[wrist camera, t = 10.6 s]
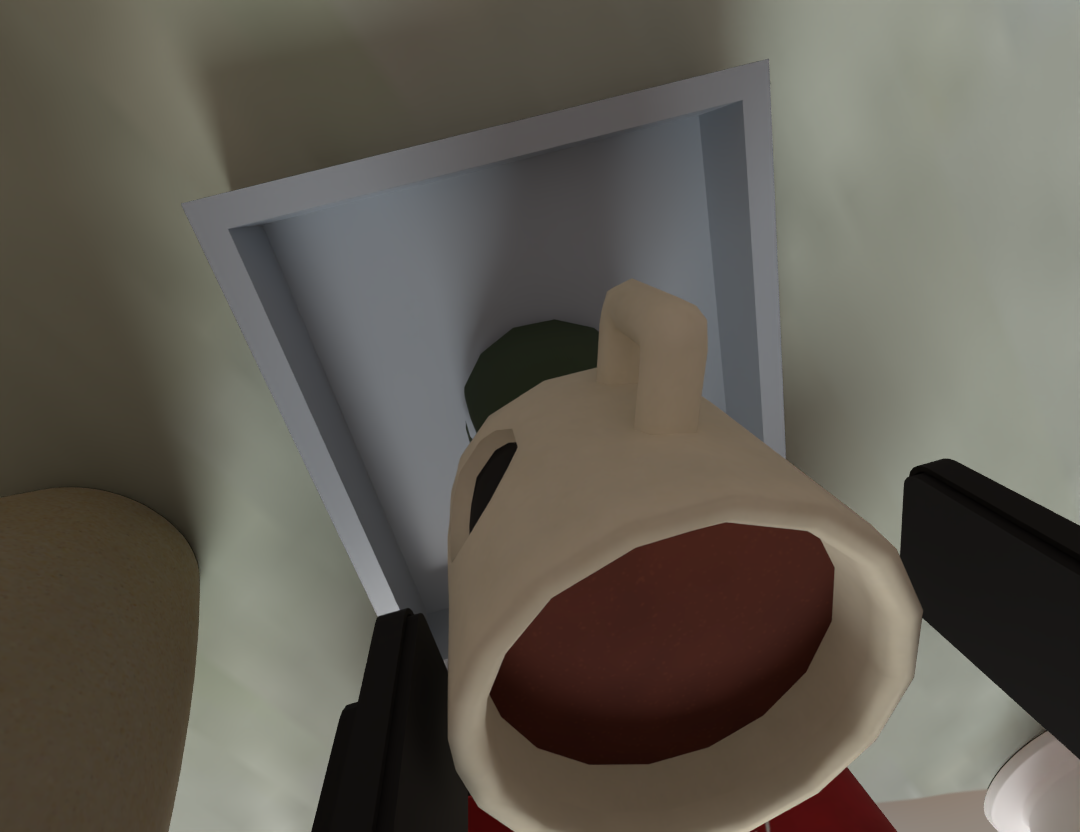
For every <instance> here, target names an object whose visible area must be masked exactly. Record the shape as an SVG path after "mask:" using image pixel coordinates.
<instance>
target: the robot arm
mask: <svg viewBox="0 0 1080 832" xmlns="http://www.w3.org/2000/svg"><path fill="white" fill-rule="evenodd" d="M900 558H901V561H902V563H903V565H904V567H905V570H906V572H907V574H908V577H909V579H910V581H911V584H912V586H913V588H914V590H915V593H916V595H917V597H918V600H919V602H920V604H921V607H922V609H923V615H922V618H923V619H924V620H926V621H927V622H928V623H929V624H930V625H931V626H932V627H933V628H934V629H935V630H937V631H938V632H939V633H940V634H941V635H942V636H943V637H944V638H945V639H947V640H948V641H949V642H950V643H951V644H952V645H953V646H954V647H955V648H957V649H958V650H959V651H960V652H961V653H962V654H963V655H964V656H965V657H966V658H968V659H969V660H970V661H971V662H972V663H973V664H974V665H975V666H976V667H978V668H979V669H980V670H981V671H982V672H983V673H984V674H985V675H986V676H988V677H989V678H990V679H991V680H992V681H993V682H994V683H995V684H996V685H997V686H999V687H1000V688H1001V689H1002V690H1003V691H1004V692H1005V693H1006V694H1007V695H1009V696H1010V697H1011V698H1012V699H1013V700H1014V701H1015V702H1016V703H1017V704H1019V705H1020V706H1021V707H1022V708H1023V709H1024V710H1025V711H1026V712H1027V713H1028V714H1030V715H1031V716H1032V717H1033V718H1034V719H1035V720H1036V721H1037V722H1038V723H1040V724H1041V725H1042V726H1043V727H1044V728H1045V729H1046V730H1047V731H1048V732H1050V733H1051V734H1052V735H1053V736H1054V737H1055V738H1056V739H1057V740H1058V741H1059V742H1061V743H1062V744H1063V745H1064V746H1065V747H1066V748H1067V749H1068V750H1069V751H1071V752H1072V753H1073V754H1074V755H1075V756H1076V757H1077V758H1078V759H1079V760H1080V526H1079V525H1077V524H1076V523H1074V522H1072V521H1070V520H1068V519H1066V518H1064V517H1062V516H1060V515H1058V514H1056V513H1054V512H1053V511H1051V510H1049V509H1047V508H1045V507H1043V506H1041V505H1039V504H1037V503H1035V502H1033V501H1031V500H1029V499H1028V498H1026V497H1024V496H1022V495H1020V494H1018V493H1016V492H1014V491H1012V490H1010V489H1008V488H1006V487H1005V486H1003V485H1001V484H999V483H997V482H995V481H993V480H991V479H989V478H987V477H985V476H983V475H982V474H980V473H978V472H976V471H974V470H972V469H970V468H968V467H966V466H964V465H962V464H960V463H958V462H957V461H954V460H951V459H941V460H937V461H934V462H930V463H927V464H923V465H919V466H916V467H914V468H913V469H912V470H911V471H910V475H909V477H907V478H906V480H905V482H904V493H903V512H902V530H901V549H900ZM311 832H468V789H467V788H466V786H465V785H464V783H463V781H462V780H461V778H460V776H459V775H458V773H457V772H456V769H455V765H454V761H453V757H452V753H451V749H450V746H449V742H448V670H447V668H446V666H445V663H444V661H443V659H442V656H441V654H440V651H439V649H438V647H437V644H436V642H435V640H434V637H433V635H432V632H431V630H430V628H429V625H428V623H427V621H426V618H425V616H424V615H423V614H422V613H418V614H414V613H413V611H412V610H411V609H410V608H405V609H402V610H398V611H395V612H391V613H387V614H384V615H380V616H379V617H378V618H377V620H376V622H375V627H374V631H373V636H372V641H371V645H370V650H369V654H368V659H367V663H366V668H365V672H364V677H363V682H362V686H361V691H360V695H359V700H358V702H356V703H352V704H349V705H347V706H346V707H345V708H344V710H343V711H342V714H341V716H340V719H339V723H338V727H337V731H336V735H335V739H334V743H333V747H332V751H331V755H330V759H329V763H328V767H327V771H326V775H325V779H324V783H323V787H322V791H321V795H320V799H319V803H318V807H317V811H316V815H315V819H314V823H313V827H312V831H311Z"/></svg>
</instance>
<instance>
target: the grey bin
mask: <svg viewBox="0 0 1080 832" xmlns="http://www.w3.org/2000/svg"><path fill="white" fill-rule="evenodd" d="M181 205H182V207H183V209H184V212H185V214H186V216H187V218H188V220H189V222H190V224H191V226H192V228H193V230H194V233H195V235H196V237H197V239H198V241H199V243H200V245H201V247H202V249H203V251H204V253H205V256H206V258H207V260H208V262H209V264H210V266H211V268H212V270H213V272H214V274H215V277H216V279H217V281H218V283H219V285H220V287H221V289H222V291H223V293H224V295H225V298H226V300H227V302H228V304H229V306H230V308H231V310H232V312H233V314H234V316H235V318H236V321H237V323H238V325H239V327H240V329H241V331H242V333H243V335H244V337H245V339H246V342H247V344H248V346H249V348H250V350H251V352H252V354H253V356H254V358H255V360H256V362H257V365H258V367H259V369H260V371H261V373H262V375H263V377H264V379H265V381H266V383H267V386H268V388H269V390H270V392H271V394H272V396H273V398H274V400H275V402H276V404H277V406H278V409H279V411H280V413H281V415H282V417H283V419H284V421H285V423H286V425H287V427H288V430H289V432H290V434H291V436H292V438H293V440H294V442H295V444H296V446H297V448H298V450H299V453H300V455H301V457H302V459H303V461H304V463H305V465H306V467H307V469H308V471H309V474H310V476H311V478H312V480H313V482H314V484H315V486H316V488H317V490H318V492H319V495H320V497H321V499H322V501H323V503H324V505H325V507H326V509H327V511H328V513H329V515H330V518H331V520H332V522H333V524H334V526H335V528H336V530H337V532H338V534H339V536H340V539H341V541H342V543H343V545H344V547H345V549H346V551H347V553H348V555H349V557H350V559H351V562H352V564H353V566H354V568H355V570H356V572H357V574H358V576H359V578H360V580H361V583H362V585H363V587H364V589H365V591H366V593H367V595H368V597H369V599H370V601H371V603H372V606H373V608H374V610H375V612H376V614H377V616H378V617H379V616H380V615H384V614H387V613H391V612H395V611H398V610H402V609H405V608H410V609H411V610H412V611H413V613H414V614H418V613H422V614H423V615H424V616H425V618H426V621H427V623H428V625H429V628H430V630H431V632H432V635H433V637H434V640H435V642H436V644H437V647H438V649H439V651H440V654H441V656H442V659H443V661H444V663H445V666H446V668H447V670H448V633H449V592H448V529H449V521H450V501H451V490H452V487H453V483H454V480H455V476H456V473H457V469H458V464H459V461H460V458H461V456H462V454H463V452H464V451H465V449H466V448H467V447H468V445H469V444H470V441H469V438H468V435H467V431H466V424H467V427H468V430H469V434H470V436H471V438H472V439H473V438H474V437H475V435H476V434H477V433H476V431H475V429H474V426H473V424H472V421H471V418H470V415H469V411H468V408H467V404H466V400H465V396H464V386H465V384H466V382H467V380H468V378H469V376H470V374H471V372H472V370H473V368H474V366H475V364H476V362H477V360H478V358H479V356H480V354H481V353H482V352H484V351H485V350H486V349H487V348H488V347H490V346H491V345H492V344H493V343H495V342H496V341H497V340H498V339H500V338H501V337H502V336H503V335H505V334H506V333H507V332H508V331H510V330H511V329H512V328H514V327H519V326H524V325H529V324H534V323H539V322H544V321H549V320H554V319H555V320H560V321H565V322H569V323H574V324H579V325H583V326H588V327H593V328H595V329H596V330H597V331H598V332H599V324H600V317H601V311H602V307H603V304H604V300H605V297H606V293H607V291H608V290H610V289H612V288H613V287H615V286H617V285H619V284H621V283H623V282H625V281H627V280H629V279H635V280H637V281H640V282H642V283H645V284H647V285H650V286H652V287H654V288H657V289H659V290H662V291H664V292H667V293H669V294H671V295H674V296H676V297H679V298H681V299H683V300H685V301H687V302H690V303H692V304H694V305H696V306H697V307H698V309H699V310H700V311H701V313H702V314H703V315H704V316H705V318H706V319H707V334H708V352H707V360H706V367H705V374H704V382H703V389H702V396H703V397H704V398H705V399H707V400H708V401H710V402H711V403H713V404H714V405H715V406H717V407H718V408H719V409H721V410H722V411H723V412H725V413H726V414H727V415H728V416H730V417H731V418H732V419H734V420H735V421H736V422H738V423H739V424H740V425H742V426H743V427H744V428H745V429H747V430H748V431H749V432H751V433H752V434H753V435H755V436H756V437H757V438H758V439H760V440H761V441H762V442H764V443H765V444H766V445H768V446H769V447H770V448H772V449H773V450H774V451H775V452H777V453H778V454H779V455H781V456H782V457H783V458H785V459H786V446H785V423H784V400H783V377H782V353H781V330H780V307H779V284H778V260H777V237H776V214H775V191H774V167H773V144H772V121H771V98H770V74H769V59H766V60H762V61H757V62H753V63H749V64H745V65H741V66H737V67H733V68H729V69H725V70H721V71H717V72H713V73H709V74H705V75H701V76H697V77H693V78H689V79H684V80H680V81H676V82H672V83H668V84H664V85H660V86H656V87H652V88H648V89H644V90H640V91H636V92H632V93H628V94H624V95H620V96H615V97H611V98H607V99H603V100H599V101H595V102H591V103H587V104H583V105H579V106H575V107H571V108H567V109H563V110H559V111H555V112H551V113H546V114H542V115H538V116H534V117H530V118H526V119H522V120H518V121H514V122H510V123H506V124H502V125H498V126H494V127H490V128H486V129H482V130H478V131H473V132H469V133H465V134H461V135H457V136H453V137H449V138H445V139H441V140H437V141H433V142H429V143H425V144H421V145H417V146H413V147H409V148H404V149H400V150H396V151H392V152H388V153H384V154H380V155H376V156H372V157H368V158H364V159H360V160H356V161H352V162H348V163H344V164H340V165H336V166H331V167H327V168H323V169H319V170H315V171H311V172H307V173H303V174H299V175H295V176H291V177H287V178H283V179H279V180H275V181H271V182H267V183H262V184H258V185H254V186H250V187H246V188H242V189H238V190H234V191H230V192H226V193H222V194H218V195H214V196H210V197H206V198H202V199H198V200H193V201H189V202H185V203H181Z"/></svg>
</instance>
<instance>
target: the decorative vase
mask: <svg viewBox="0 0 1080 832" xmlns="http://www.w3.org/2000/svg"><path fill="white" fill-rule="evenodd" d="M984 812H985V815H986V818H987V819H988V821H989V822H990V823H991V824H992V825H993V826H994V828H995V829H996V830H997V831H999V832H1080V760H1079V759H1078V758H1077V757H1076V756H1075V755H1074V754H1073V753H1072V752H1071V751H1069V750H1068V749H1067V748H1066V747H1065V746H1064V745H1063V744H1062V743H1061V742H1059V741H1058V740H1057V739H1056V738H1055V737H1054V736H1053V735H1052V734H1051V733H1050V732H1048V731H1047V732H1045V733H1043V734H1042V735H1040V736H1038V737H1037V738H1036V739H1034V740H1033V741H1031V742H1030V743H1029V744H1027V745H1026V746H1025V747H1023V748H1022V749H1021V750H1020V751H1019V752H1017V753H1016V754H1015V755H1014V756H1013V757H1012V758H1011V759H1010V760H1009V761H1008V762H1007V763H1006V764H1005V765H1004V766H1003V768H1002V769H1001V770H1000V771H999V772H998V774H997V775H996V777H995V778H994V780H993V781H992V783H991V785H990V786H989V788H988V791H987V793H986V796H985V801H984Z"/></svg>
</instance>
